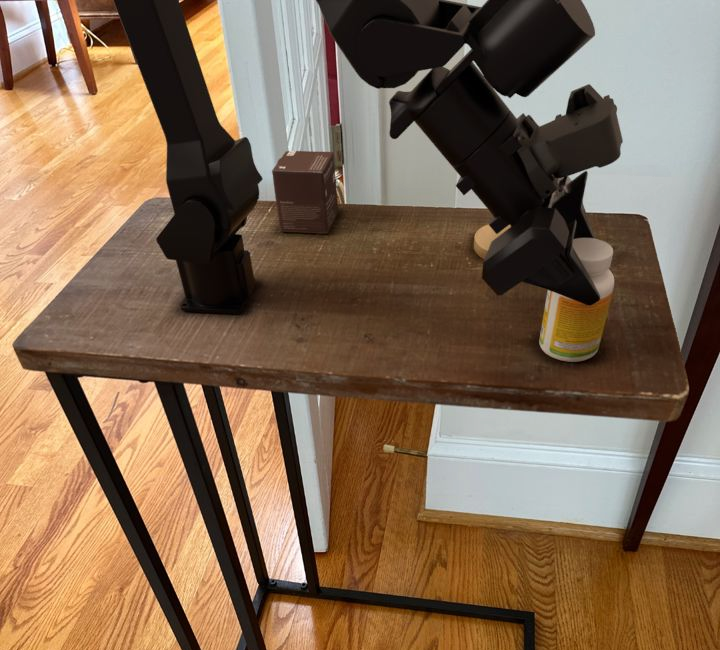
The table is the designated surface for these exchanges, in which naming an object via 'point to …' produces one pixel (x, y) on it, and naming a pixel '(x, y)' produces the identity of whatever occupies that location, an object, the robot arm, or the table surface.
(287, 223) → the box
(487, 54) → the robot arm
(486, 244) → the coaster
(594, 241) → the supplement bottle
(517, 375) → the table surface
